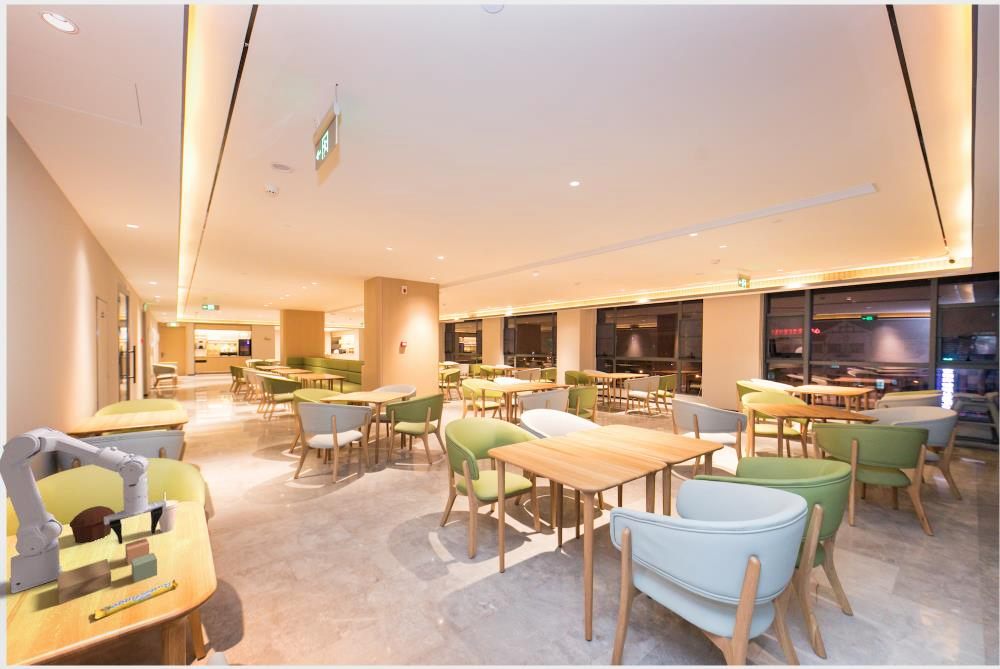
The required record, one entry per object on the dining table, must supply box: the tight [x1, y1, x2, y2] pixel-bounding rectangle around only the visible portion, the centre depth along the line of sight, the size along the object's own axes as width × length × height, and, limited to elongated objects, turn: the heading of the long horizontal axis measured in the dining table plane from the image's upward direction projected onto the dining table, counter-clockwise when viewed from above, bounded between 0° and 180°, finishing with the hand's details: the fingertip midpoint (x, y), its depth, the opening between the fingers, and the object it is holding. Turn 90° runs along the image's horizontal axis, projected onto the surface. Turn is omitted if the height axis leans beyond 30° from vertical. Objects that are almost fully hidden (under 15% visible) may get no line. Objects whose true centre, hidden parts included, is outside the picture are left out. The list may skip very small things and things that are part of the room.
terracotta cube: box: [124, 537, 150, 566], centre depth 126 cm, size 5×5×5 cm
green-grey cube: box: [131, 552, 158, 584], centre depth 118 cm, size 5×5×5 cm
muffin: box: [69, 505, 116, 544], centre depth 140 cm, size 12×11×10 cm
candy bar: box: [94, 579, 179, 620], centre depth 107 cm, size 17×4×2 cm, turn 139°
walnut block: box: [57, 558, 112, 605], centre depth 112 cm, size 10×10×4 cm
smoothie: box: [158, 491, 179, 533], centre depth 144 cm, size 6×6×14 cm
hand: (137, 537), depth 126 cm, fingers open, 7 cm apart
